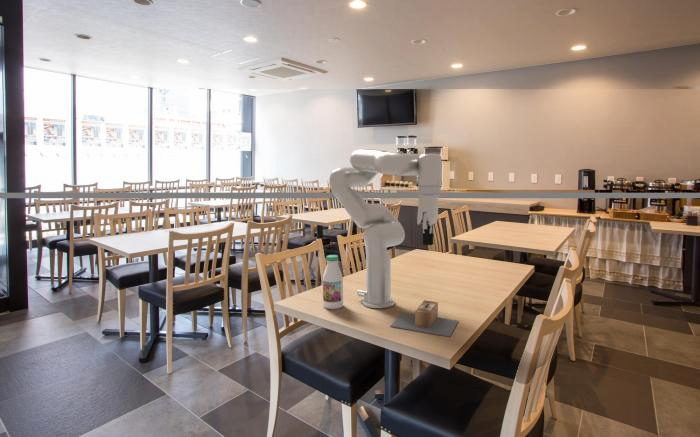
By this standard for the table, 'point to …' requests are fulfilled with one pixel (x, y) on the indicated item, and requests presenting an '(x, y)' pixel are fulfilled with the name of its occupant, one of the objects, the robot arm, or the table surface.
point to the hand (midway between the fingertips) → (428, 244)
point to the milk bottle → (332, 284)
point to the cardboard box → (426, 313)
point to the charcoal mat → (437, 328)
